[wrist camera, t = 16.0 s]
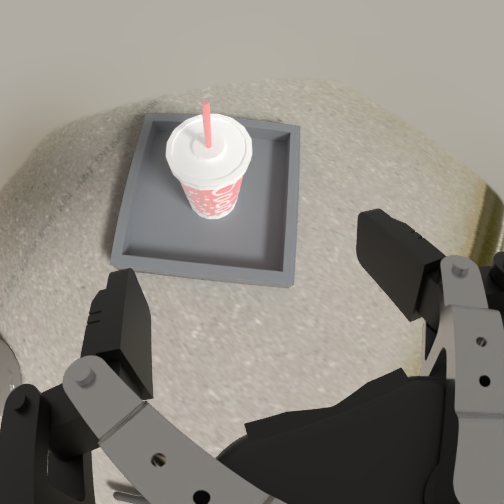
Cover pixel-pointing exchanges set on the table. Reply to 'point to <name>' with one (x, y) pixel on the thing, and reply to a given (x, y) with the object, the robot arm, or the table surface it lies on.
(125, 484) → the table surface
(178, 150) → the beverage cup
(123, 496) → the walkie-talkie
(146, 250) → the tray
